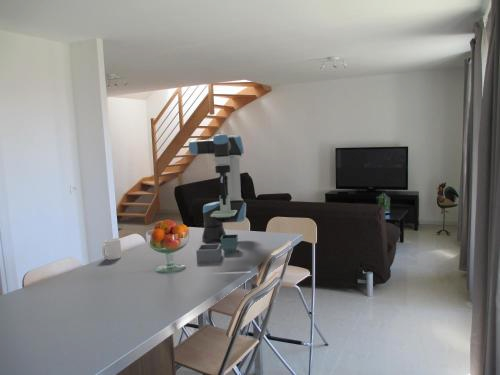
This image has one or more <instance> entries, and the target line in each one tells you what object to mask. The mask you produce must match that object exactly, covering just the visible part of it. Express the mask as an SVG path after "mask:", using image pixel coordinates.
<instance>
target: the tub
mask: <svg viewBox="0 0 500 375" xmlns="http://www.w3.org/2000/svg"><path fill="white" fill-rule="evenodd" d="M222 250H223V248H222V243H207V244H206V243H205V244H204V243H203V244H200V245H199V246H198V247H197V249H196V250H195V251H196V253H195V254H196V263H198V264H201V263H219V262H220V261H221V258H222V256H223V252H222Z"/></svg>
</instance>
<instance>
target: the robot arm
mask: <svg viewBox="0 0 500 375" xmlns="http://www.w3.org/2000/svg"><path fill="white" fill-rule="evenodd" d="M188 151H189V154H190V155H192V156H199V155H213V156H214V158H213V161H214V164H215V169H214V170H215V174H219V177H218V181H219V182H218V183H219V189H220V190H219V191H220V192H219V193H220V196H221V197H220V198H219V200H220V199H222V211H228V206H227V197H226V195H230V209H231V210H237V212H236V214H235V215H234V216H231V217H211V214H212V213H213V212H215V211H220V201H213V202H209V203H206V204H204V205H203V207H202V214H203V215H202V216H203V233H202V235H201V236H202V237H201V238H202V239H201V241H202V242H204V243H219V242H221V237H222V235H227V234H226V231H225V228H224V225H223V224H224V223H225V224H227V223H243V222H244V221H245V220H246V215H247V203H246V202H245V201H244V199H243V197H242V192H241V190H242V187H241V170H240V169H241V166H240V159H241V158H242V157H243V156H242V155H244V151H245V150H244V145H243V141H242V137H241V136H240V135H235V134H234V135H228V134H224V133H223V134H215V135H213V136H212V137H210V138H205V139H201V140H199V139H196V140H191V141H189V143H188Z"/></svg>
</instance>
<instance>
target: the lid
mask: <svg viewBox="0 0 500 375" xmlns="http://www.w3.org/2000/svg"><path fill="white" fill-rule="evenodd" d="M220 197H221V195H219V202H220V211H215V212H213V213H212V214H211V217H231V216H234V215H235V214H236V212H237V210H231V209H230V195H226V197H227V206H228V211H222V199H220Z"/></svg>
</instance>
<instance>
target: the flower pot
mask: <svg viewBox="0 0 500 375" xmlns="http://www.w3.org/2000/svg"><path fill="white" fill-rule="evenodd" d="M238 239H239V235H238V234H235V233H234V234H226V235H222V237H221V241H220V242H221V243H220V244H221V249H222V250H223V252H224V253H236V250H237V248H238V244H239V242H238V241H239V240H238Z"/></svg>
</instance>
